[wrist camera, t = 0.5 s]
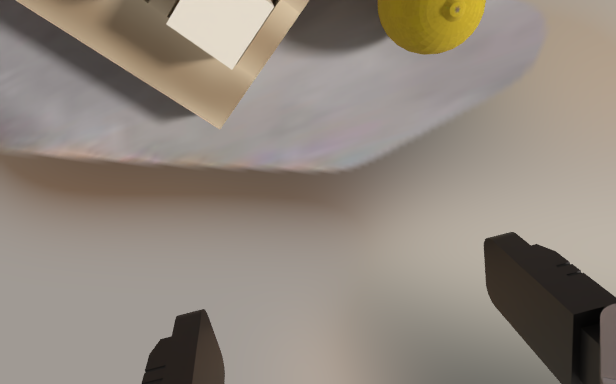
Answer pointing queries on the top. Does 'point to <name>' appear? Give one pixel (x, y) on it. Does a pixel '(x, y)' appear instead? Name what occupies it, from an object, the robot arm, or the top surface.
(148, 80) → the tray
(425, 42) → the lemon
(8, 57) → the top surface
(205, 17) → the ivory key
